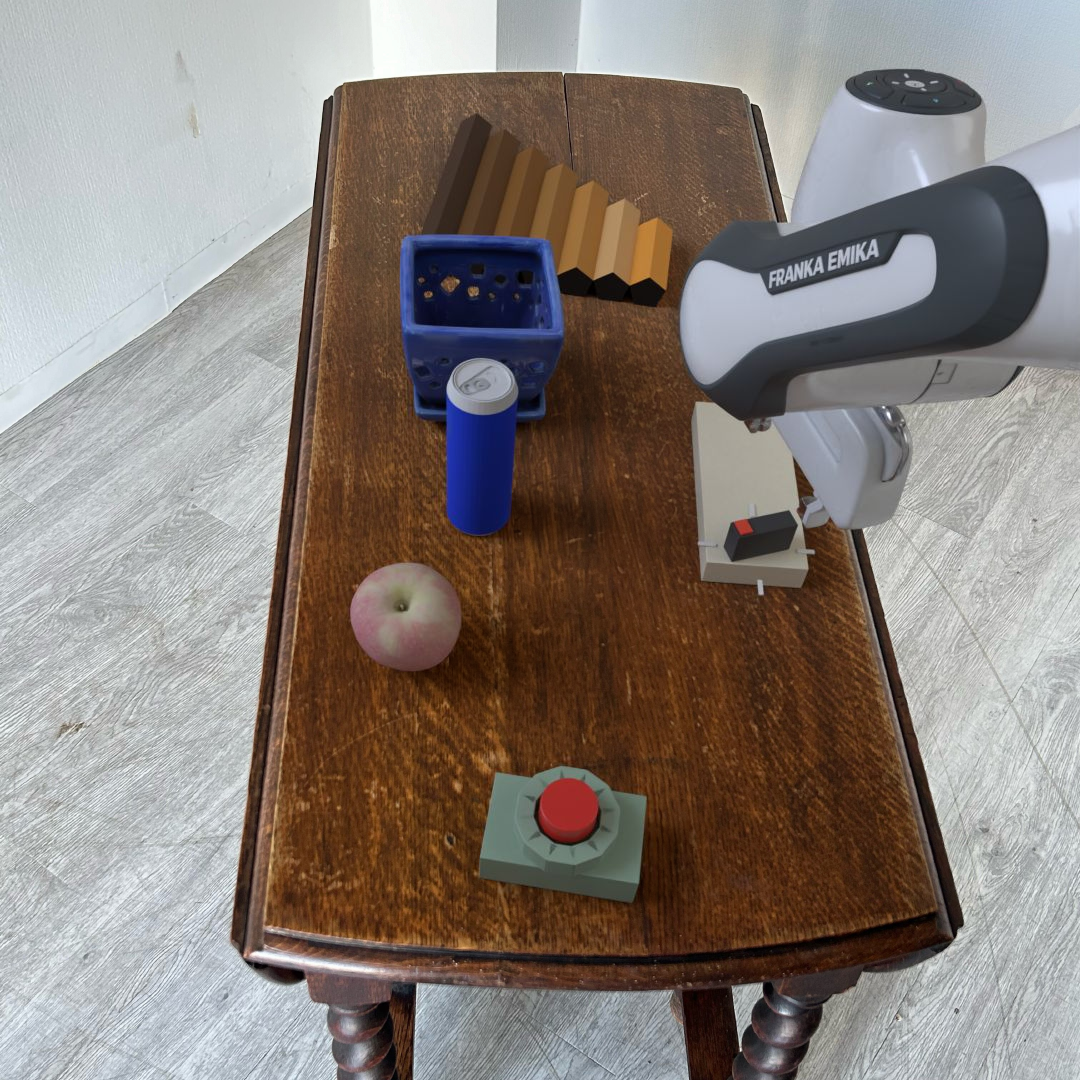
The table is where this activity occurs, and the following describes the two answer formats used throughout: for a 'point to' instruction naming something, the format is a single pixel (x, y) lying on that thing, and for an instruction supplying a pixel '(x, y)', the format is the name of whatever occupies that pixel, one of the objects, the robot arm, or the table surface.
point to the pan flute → (548, 216)
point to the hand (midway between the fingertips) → (781, 471)
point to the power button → (568, 810)
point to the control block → (543, 862)
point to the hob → (743, 497)
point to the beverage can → (480, 445)
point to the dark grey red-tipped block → (760, 535)
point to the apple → (406, 616)
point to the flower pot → (479, 315)
